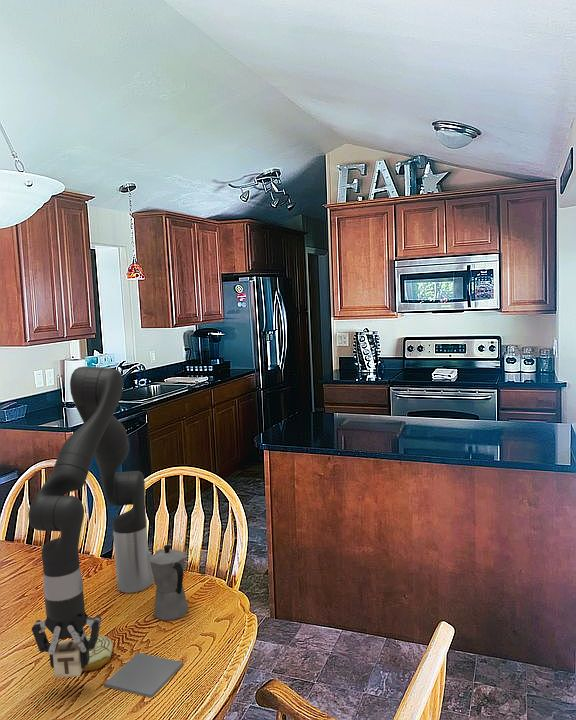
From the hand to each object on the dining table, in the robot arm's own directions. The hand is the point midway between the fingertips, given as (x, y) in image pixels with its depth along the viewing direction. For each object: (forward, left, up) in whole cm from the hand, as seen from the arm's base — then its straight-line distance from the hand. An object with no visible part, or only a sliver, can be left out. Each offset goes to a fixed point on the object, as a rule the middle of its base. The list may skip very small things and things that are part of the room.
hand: (70, 666), depth 130 cm
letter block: (0, 0, -1) cm, 1 cm away
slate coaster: (-14, +5, -5) cm, 16 cm away
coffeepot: (-31, -15, -6) cm, 35 cm away
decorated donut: (-7, -9, -6) cm, 13 cm away
